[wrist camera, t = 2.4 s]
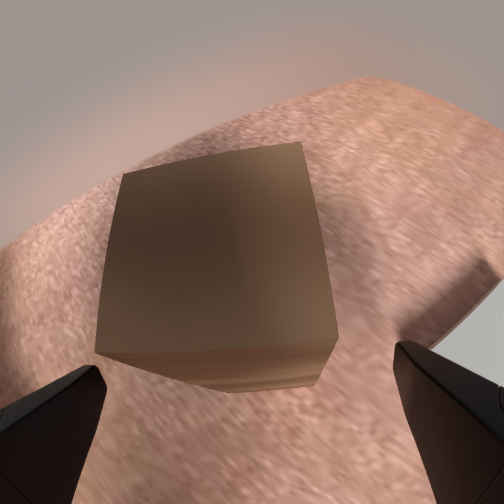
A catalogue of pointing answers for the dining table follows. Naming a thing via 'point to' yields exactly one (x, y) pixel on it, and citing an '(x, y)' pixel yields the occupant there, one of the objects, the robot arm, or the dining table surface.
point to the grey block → (478, 337)
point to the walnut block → (219, 273)
